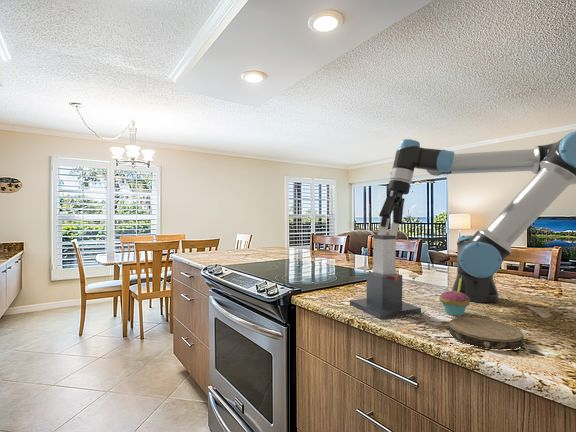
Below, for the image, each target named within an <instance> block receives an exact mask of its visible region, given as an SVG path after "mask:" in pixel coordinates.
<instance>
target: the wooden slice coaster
mask: <svg viewBox="0 0 576 432" xmlns="http://www.w3.org/2000/svg"><path fill="white" fill-rule="evenodd" d="M450 334H451V335H452V336H453V337H454V338H456V339H457V340H456V339H455V340H456V341H458V340H459V341H461V342H460V343H462V342H464V343H467V344H470V345H474V346H478V347H482V348H489V349H516V348H519V347H522V346H523V347H524V333H523V331H522V330H520V328H517V327H515V326H514V325H511V324H508V323H505V322H501V321H498V320H494V319H490V318H482V317H470V316H468V317H467V316H465V317H462V316H460V317H455V318H452V319H450V320H449V335H450ZM451 335H450V336H451ZM452 336H451V337H452ZM453 337H452V338H453ZM454 338H453V339H454ZM459 341H458V342H459ZM464 343H463V344H464ZM467 344H466V345H467ZM470 345H469V346H470ZM523 347H522V348H523Z"/></svg>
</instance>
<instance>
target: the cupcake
mask: <svg viewBox="0 0 576 432" xmlns="http://www.w3.org/2000/svg"><path fill="white" fill-rule="evenodd" d="M461 282H462V276H461V278H460V280H459V285H458V291H452V290H447V291H445V292H442V293H441V294H440V295H439V298H438V301H439V302H441V303H442V305H443V306H444V310H445V313H446V314H447V315H449V314H450V316H453V315H456V316H455V317H462V316H463V315H464V313H465V311H466V309H467V306H469V305H471V301H470V298H469V297H468V296H467V295H466V294H464V293H462V292H460V288H461ZM461 315H462V316H461Z"/></svg>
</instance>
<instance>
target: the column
mask: <svg viewBox="0 0 576 432" xmlns="http://www.w3.org/2000/svg"><path fill="white" fill-rule="evenodd" d="M372 237H373V241H372V243H373V245H372V247H373V250H372V251H373V252H372V253H373V254H372V257H373V259H372V264H373V265H372V272H373V273H374V274H378V275H381V276H388V275H395V273H396V274H397V272H396V269H397V268H396V266H397V265H396V262H397V260H396V257H397V256H396V255H397V253H396V251H397V249H396V248H397V246H396V245H397V244H396V243H397V237H396V236H395V235H389V234H386V235H378V234H373V235H372Z"/></svg>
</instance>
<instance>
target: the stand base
mask: <svg viewBox="0 0 576 432" xmlns="http://www.w3.org/2000/svg"><path fill="white" fill-rule="evenodd" d="M349 306H352V307H354V308H356V309H357V310H361V311H362V312H365V313H366V314H367V315H368V314H369V315H371V316H373V317H374V318H377V319H379V318H380V319H379V320H381V319H382V318H383V319H387V318H389V317H390V318H394V317H403V316H408V315H414V314H420V313H422V308H421V307H420V306H417V305H414V304H411V303H408V302H405V301H403V274H400V273H397V272H396V273H395V275H388V276H381V275H378V274H374V273H373V271H370V272H366V298H360V299H357V298H356V299H351V300H349Z"/></svg>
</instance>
